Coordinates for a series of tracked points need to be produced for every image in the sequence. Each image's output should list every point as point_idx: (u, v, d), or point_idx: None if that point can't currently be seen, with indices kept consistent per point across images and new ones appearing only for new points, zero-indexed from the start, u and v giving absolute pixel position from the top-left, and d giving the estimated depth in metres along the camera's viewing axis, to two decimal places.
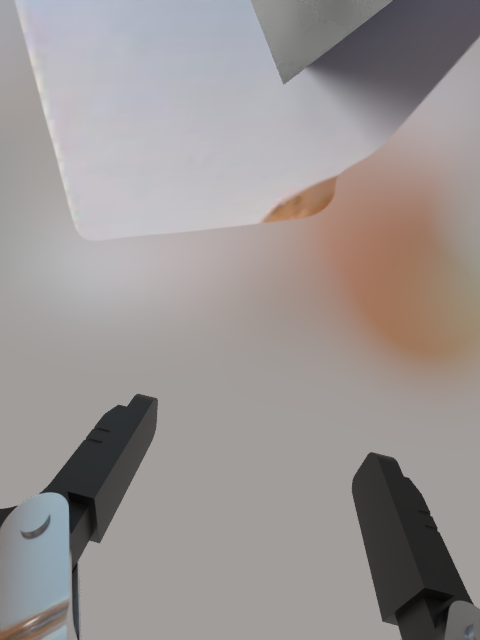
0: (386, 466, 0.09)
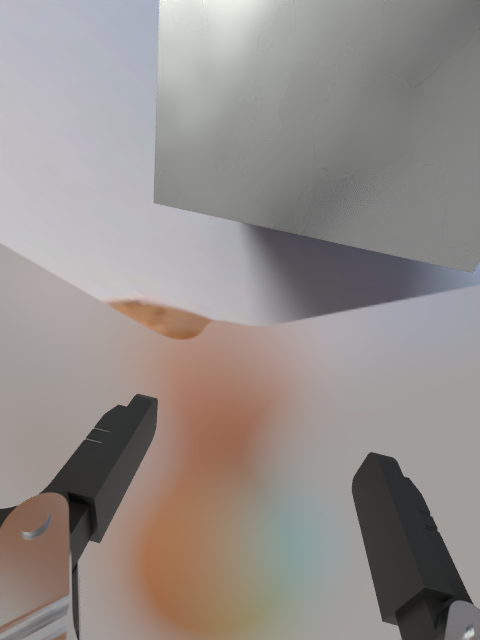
0: (386, 466, 0.09)
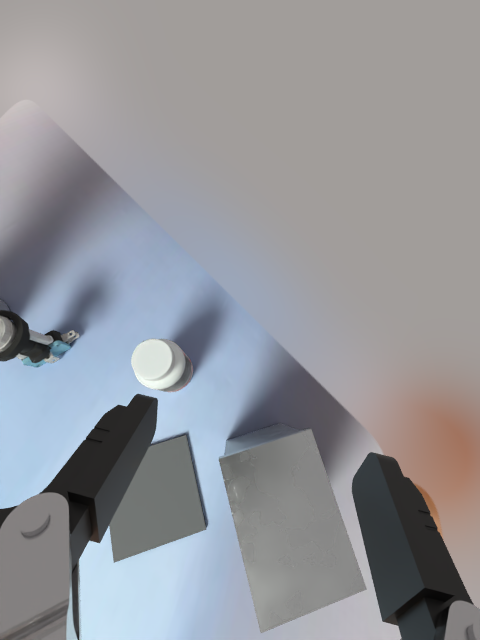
0: (386, 466, 0.09)
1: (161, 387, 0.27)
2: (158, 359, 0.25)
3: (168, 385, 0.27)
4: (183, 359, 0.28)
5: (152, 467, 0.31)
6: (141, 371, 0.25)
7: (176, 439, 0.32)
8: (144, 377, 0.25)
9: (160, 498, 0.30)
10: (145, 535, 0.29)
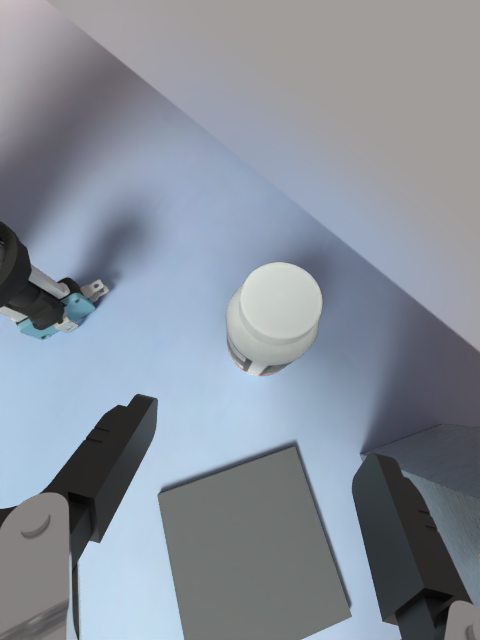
0: (386, 466, 0.09)
1: (284, 360, 0.14)
2: (294, 299, 0.12)
3: (296, 356, 0.14)
4: None
5: (245, 504, 0.18)
6: (265, 323, 0.12)
7: (280, 454, 0.19)
8: (273, 334, 0.12)
9: (266, 560, 0.17)
10: (246, 631, 0.16)
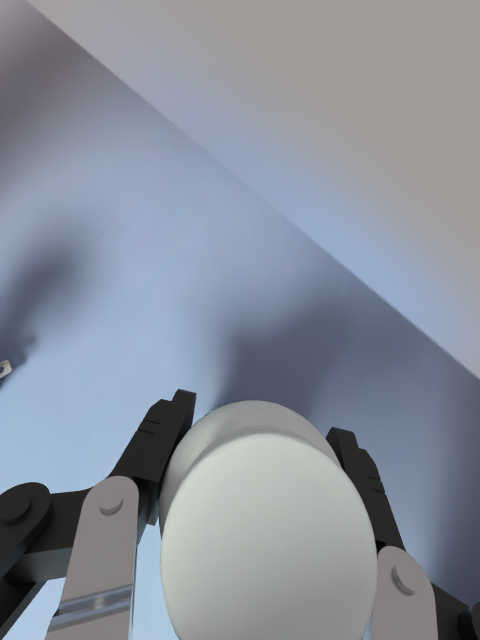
0: (343, 438, 0.09)
1: None
2: (304, 555, 0.05)
3: None
4: None
5: None
6: None
7: None
8: None
9: None
10: None
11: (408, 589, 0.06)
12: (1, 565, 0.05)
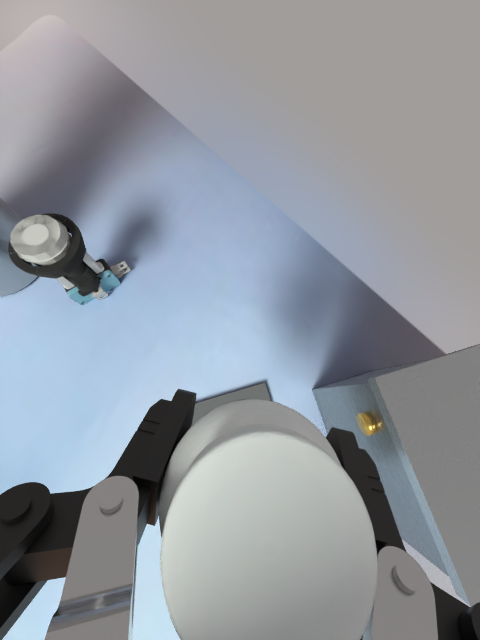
0: (343, 438, 0.09)
1: None
2: (305, 553, 0.05)
3: None
4: None
5: None
6: None
7: (254, 387, 0.26)
8: None
9: None
10: None
11: (408, 589, 0.06)
12: (2, 565, 0.05)
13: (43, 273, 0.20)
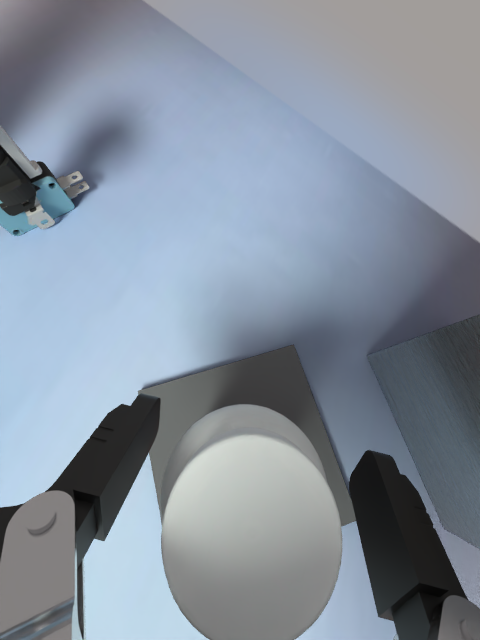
0: (383, 463, 0.09)
1: None
2: (281, 536, 0.06)
3: None
4: (325, 478, 0.08)
5: (237, 401, 0.16)
6: (212, 608, 0.05)
7: (277, 352, 0.17)
8: None
9: None
10: None
11: None
12: None
13: None
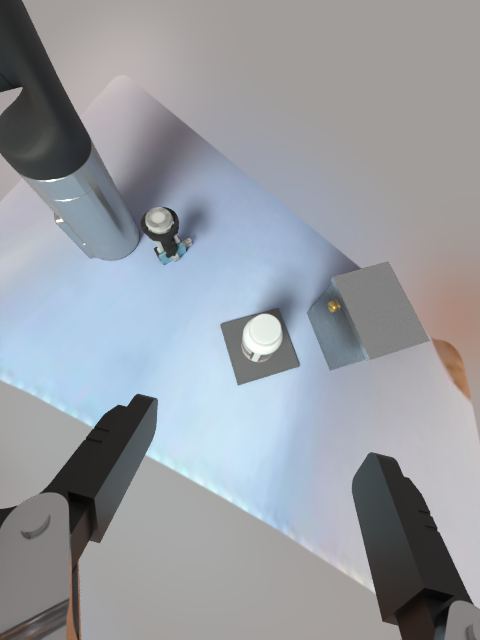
0: (386, 466, 0.09)
1: (267, 352, 0.34)
2: (270, 328, 0.33)
3: (272, 351, 0.35)
4: None
5: None
6: (259, 338, 0.32)
7: (271, 311, 0.44)
8: (262, 342, 0.32)
9: None
10: (257, 369, 0.41)
11: None
12: None
13: (161, 238, 0.38)
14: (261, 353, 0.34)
